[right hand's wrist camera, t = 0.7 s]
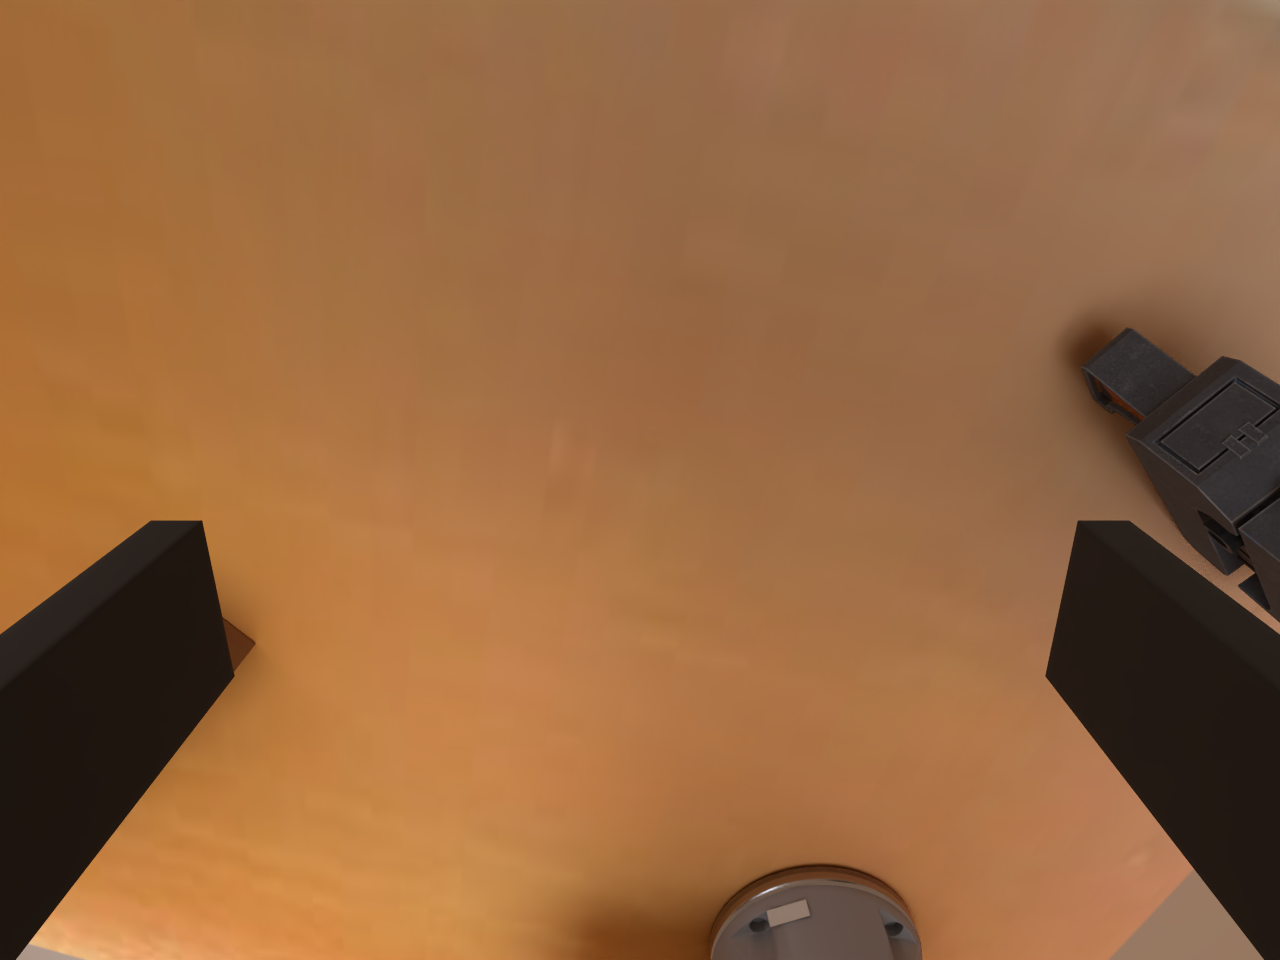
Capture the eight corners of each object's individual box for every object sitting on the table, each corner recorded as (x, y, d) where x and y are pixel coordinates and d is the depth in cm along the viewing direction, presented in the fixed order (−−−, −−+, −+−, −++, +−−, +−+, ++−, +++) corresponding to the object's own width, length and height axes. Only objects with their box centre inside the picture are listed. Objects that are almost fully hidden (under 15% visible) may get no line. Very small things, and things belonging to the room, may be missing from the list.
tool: (1138, 282, 42) (1444, 474, 31) (1202, 440, 55) (1432, 612, 45) (1038, 369, 43) (1297, 579, 33) (1123, 502, 56) (1327, 681, 46)
